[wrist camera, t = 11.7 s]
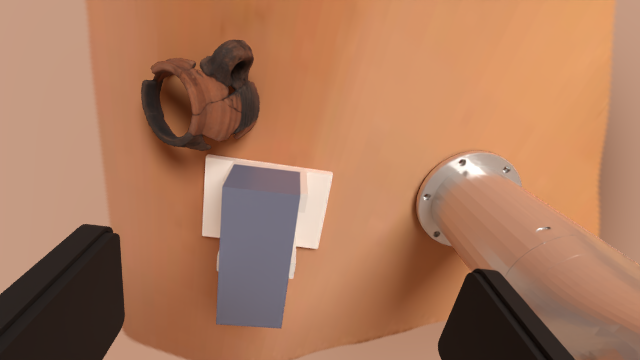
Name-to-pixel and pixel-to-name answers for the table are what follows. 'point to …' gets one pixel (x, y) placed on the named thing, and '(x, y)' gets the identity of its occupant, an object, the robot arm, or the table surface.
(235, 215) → the blue-grey rectangular block
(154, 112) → the pottery mug
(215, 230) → the display stand
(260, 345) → the table surface
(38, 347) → the robot arm
